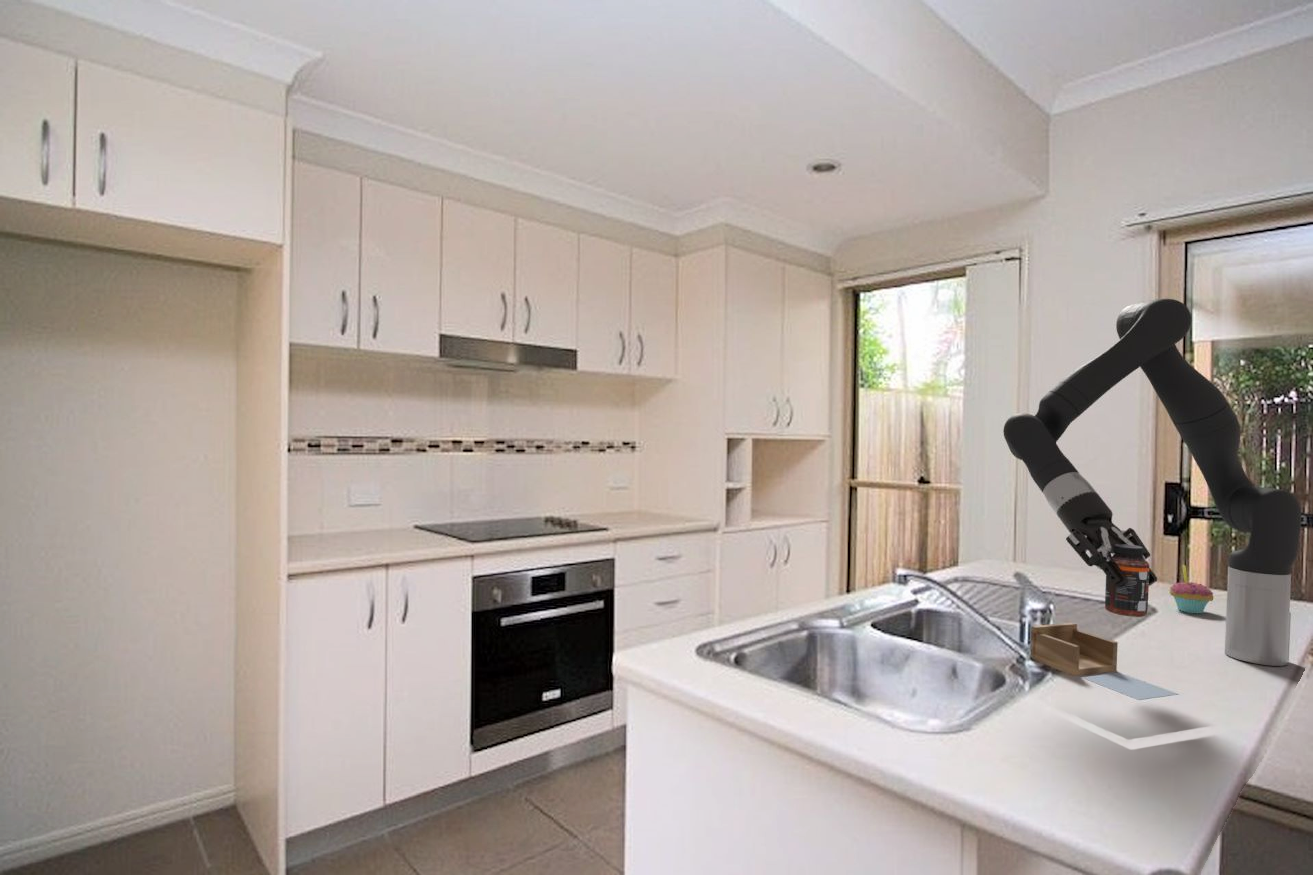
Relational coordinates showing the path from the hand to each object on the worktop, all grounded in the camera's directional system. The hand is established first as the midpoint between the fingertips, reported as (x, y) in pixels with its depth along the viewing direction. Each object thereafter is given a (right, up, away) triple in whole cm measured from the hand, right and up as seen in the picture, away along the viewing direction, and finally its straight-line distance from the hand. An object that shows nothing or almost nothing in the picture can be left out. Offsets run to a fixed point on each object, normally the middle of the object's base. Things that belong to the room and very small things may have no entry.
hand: (1137, 583), depth 114 cm
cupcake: (+52, -19, +56) cm, 79 cm away
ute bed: (-4, -18, +11) cm, 21 cm away
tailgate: (-2, -17, +6) cm, 18 cm away
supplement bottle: (-1, -5, +2) cm, 6 cm away
